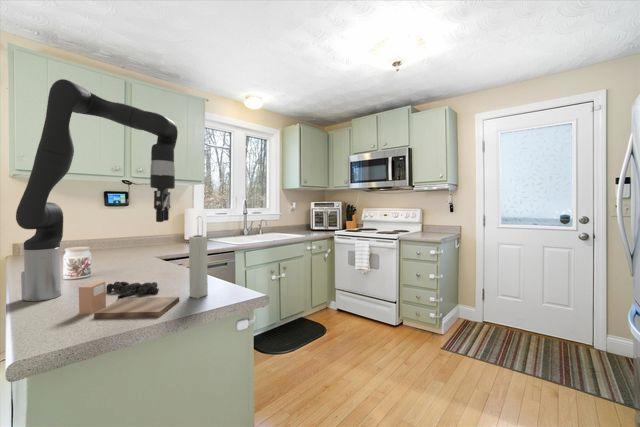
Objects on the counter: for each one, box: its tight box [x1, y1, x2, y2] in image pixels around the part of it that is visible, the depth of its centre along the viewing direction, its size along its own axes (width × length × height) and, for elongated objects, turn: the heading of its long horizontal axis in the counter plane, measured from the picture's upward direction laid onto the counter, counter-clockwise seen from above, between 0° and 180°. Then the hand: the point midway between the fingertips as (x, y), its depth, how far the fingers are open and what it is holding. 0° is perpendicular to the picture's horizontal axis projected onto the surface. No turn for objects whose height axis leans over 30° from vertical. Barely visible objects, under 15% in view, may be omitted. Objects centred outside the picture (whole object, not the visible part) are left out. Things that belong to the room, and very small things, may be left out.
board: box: [93, 296, 180, 319], centre depth 92 cm, size 18×14×2 cm
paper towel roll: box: [188, 234, 209, 299], centre depth 106 cm, size 7×6×21 cm
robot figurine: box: [106, 281, 160, 300], centre depth 110 cm, size 18×4×20 cm
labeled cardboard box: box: [78, 281, 107, 315], centre depth 91 cm, size 4×6×8 cm, turn 3°
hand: (162, 221), depth 104 cm, fingers open, 8 cm apart
